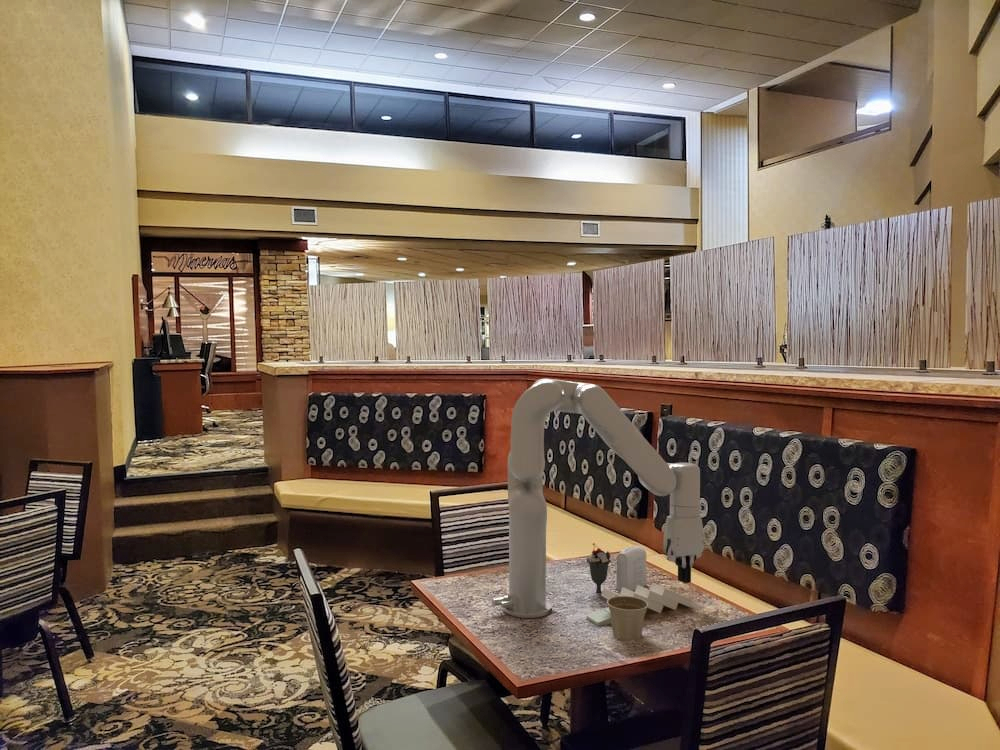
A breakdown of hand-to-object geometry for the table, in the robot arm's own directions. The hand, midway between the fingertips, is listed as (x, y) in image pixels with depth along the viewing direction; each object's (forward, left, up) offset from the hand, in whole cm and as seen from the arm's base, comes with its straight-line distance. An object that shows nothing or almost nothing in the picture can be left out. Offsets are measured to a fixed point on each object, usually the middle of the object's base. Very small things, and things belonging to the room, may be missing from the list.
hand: (684, 581), depth 175 cm
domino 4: (0, 0, -5) cm, 5 cm away
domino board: (-8, 0, -7) cm, 11 cm away
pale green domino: (-18, 0, -5) cm, 19 cm away
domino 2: (-9, 0, -5) cm, 11 cm away
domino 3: (-5, 0, -5) cm, 7 cm away
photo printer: (-4, +17, -7) cm, 19 cm away
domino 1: (-15, 0, -4) cm, 16 cm away
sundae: (-15, +17, -7) cm, 24 cm away
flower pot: (-25, -10, -7) cm, 28 cm away
